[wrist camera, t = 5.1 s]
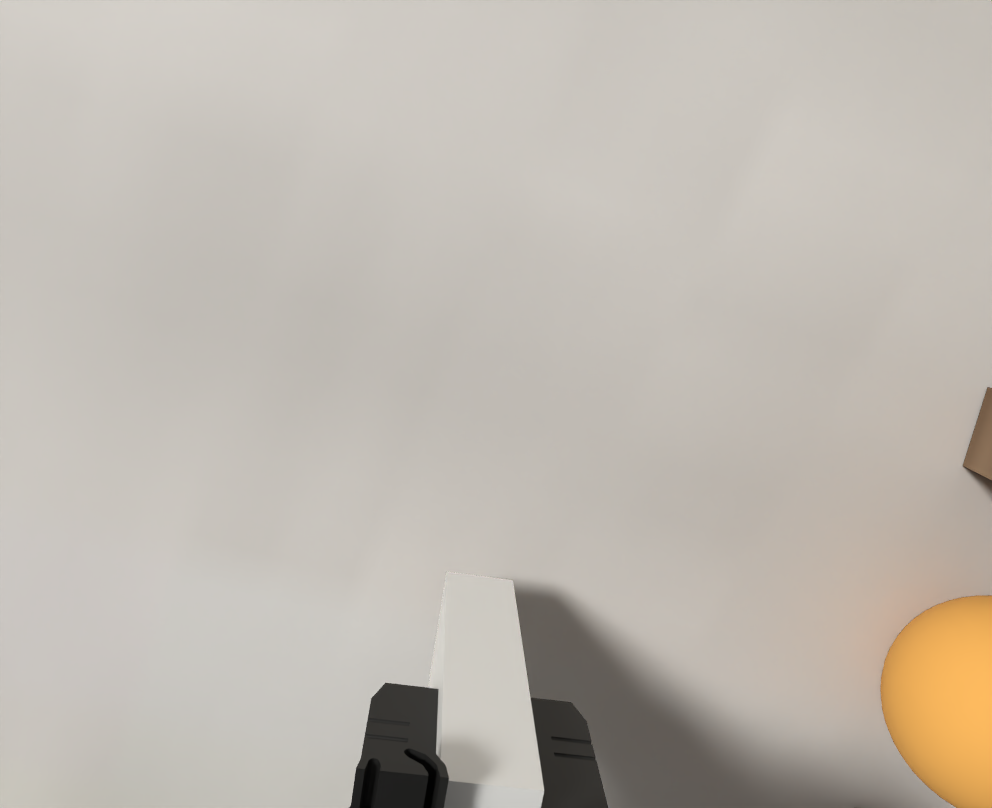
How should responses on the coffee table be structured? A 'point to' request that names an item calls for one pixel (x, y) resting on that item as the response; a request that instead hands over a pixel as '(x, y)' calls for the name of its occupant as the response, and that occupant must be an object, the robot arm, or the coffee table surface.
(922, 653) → the ball
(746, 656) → the coffee table surface
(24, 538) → the coffee table surface
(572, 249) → the coffee table surface
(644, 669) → the coffee table surface
